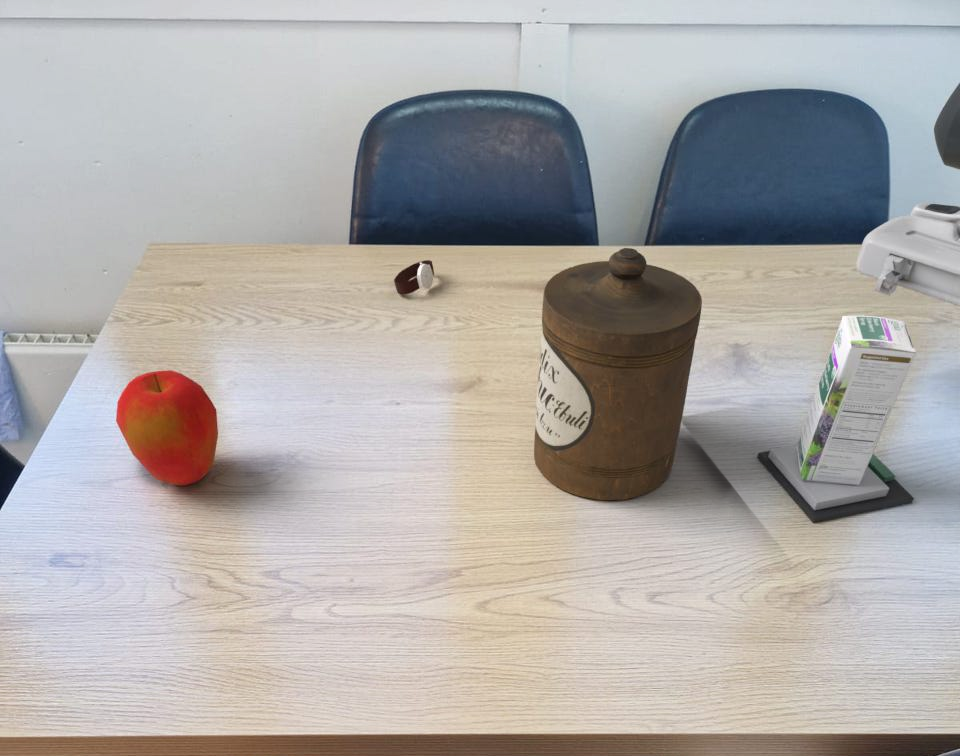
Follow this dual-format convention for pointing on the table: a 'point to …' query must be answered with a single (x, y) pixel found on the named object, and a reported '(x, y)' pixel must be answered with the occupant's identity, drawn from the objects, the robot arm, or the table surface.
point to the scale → (835, 488)
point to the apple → (169, 426)
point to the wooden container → (613, 375)
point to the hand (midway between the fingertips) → (929, 301)
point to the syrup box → (854, 398)
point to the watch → (421, 280)
